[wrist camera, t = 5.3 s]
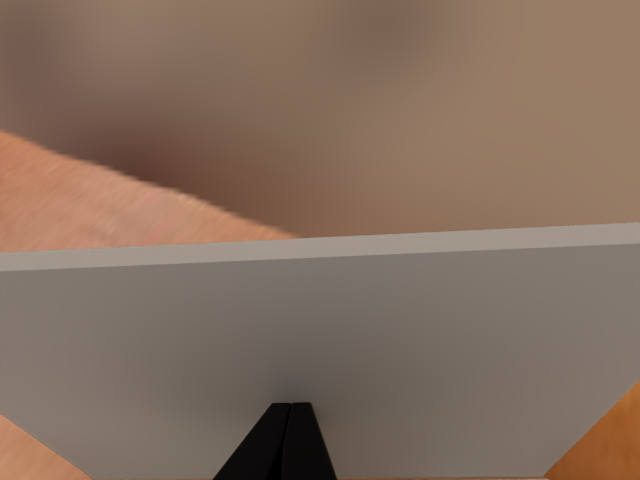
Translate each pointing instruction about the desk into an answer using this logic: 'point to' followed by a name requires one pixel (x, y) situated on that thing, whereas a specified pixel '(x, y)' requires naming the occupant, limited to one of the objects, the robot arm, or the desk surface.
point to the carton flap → (324, 348)
